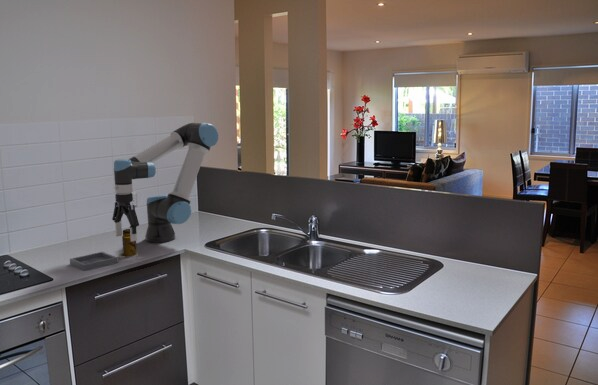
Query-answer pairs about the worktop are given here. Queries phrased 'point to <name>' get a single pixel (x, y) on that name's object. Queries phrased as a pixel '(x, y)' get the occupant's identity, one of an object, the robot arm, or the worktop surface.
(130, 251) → the condiment
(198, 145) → the robot arm
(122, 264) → the worktop surface
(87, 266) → the tray
